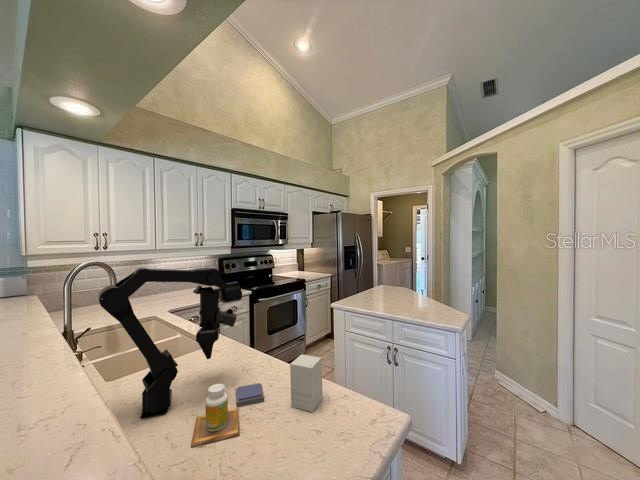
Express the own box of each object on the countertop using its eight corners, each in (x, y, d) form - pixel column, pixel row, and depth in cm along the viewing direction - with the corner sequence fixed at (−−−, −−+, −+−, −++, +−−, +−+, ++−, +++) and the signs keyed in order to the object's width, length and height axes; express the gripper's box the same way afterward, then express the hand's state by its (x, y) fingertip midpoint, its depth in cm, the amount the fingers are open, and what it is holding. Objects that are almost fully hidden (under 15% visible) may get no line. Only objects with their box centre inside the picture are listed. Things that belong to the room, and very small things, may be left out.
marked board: (190, 447, 60) (190, 444, 60) (196, 418, 71) (196, 415, 71) (239, 435, 64) (239, 433, 64) (238, 409, 74) (238, 406, 74)
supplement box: (323, 398, 79) (322, 357, 79) (312, 413, 72) (311, 368, 72) (302, 393, 82) (301, 353, 82) (290, 406, 75) (289, 363, 75)
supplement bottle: (220, 433, 64) (219, 394, 64) (201, 431, 65) (200, 392, 65) (231, 419, 70) (231, 383, 70) (213, 416, 71) (213, 381, 71)
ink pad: (236, 407, 75) (236, 400, 75) (236, 392, 83) (236, 386, 83) (264, 401, 78) (264, 395, 78) (261, 387, 85) (261, 381, 85)
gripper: (235, 309, 79) (236, 361, 79) (234, 298, 97) (235, 339, 97) (195, 313, 75) (196, 367, 75) (202, 300, 93) (202, 344, 93)
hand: (209, 352), depth 85 cm, fingers open, 9 cm apart
